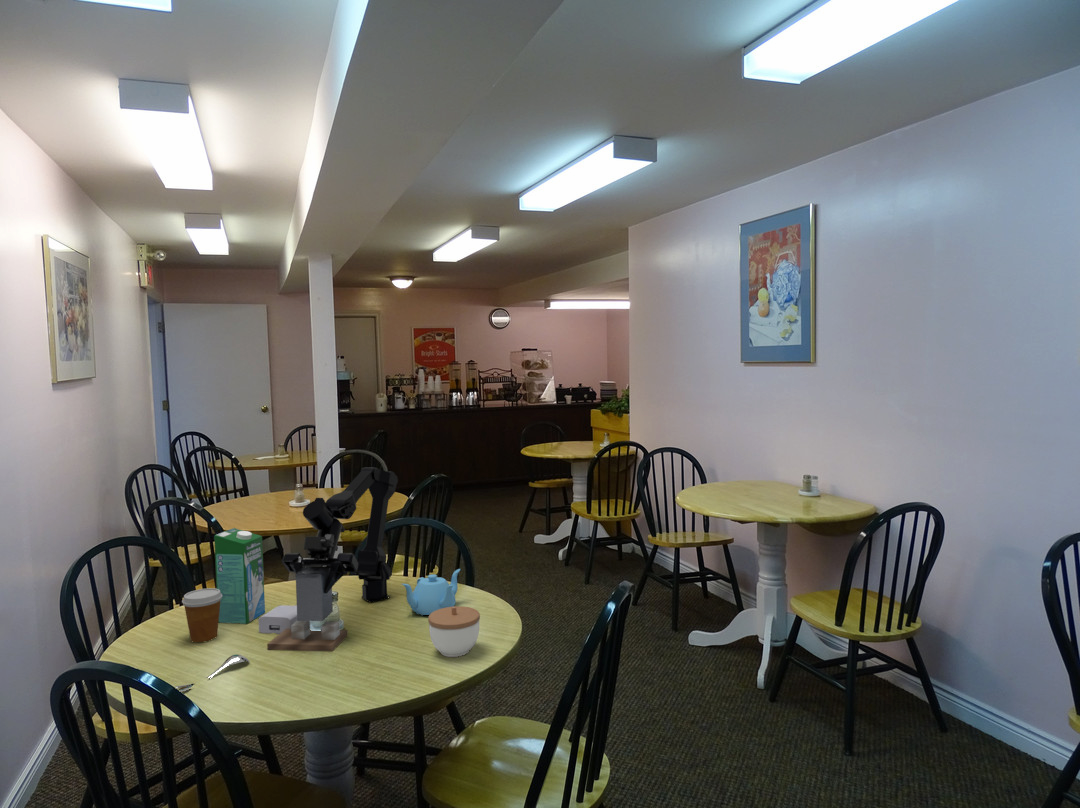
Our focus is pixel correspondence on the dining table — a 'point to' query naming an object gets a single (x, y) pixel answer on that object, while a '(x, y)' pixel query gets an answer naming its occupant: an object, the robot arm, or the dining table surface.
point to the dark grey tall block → (313, 594)
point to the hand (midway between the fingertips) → (312, 592)
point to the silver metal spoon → (220, 668)
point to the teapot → (432, 594)
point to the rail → (309, 637)
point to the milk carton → (239, 575)
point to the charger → (278, 619)
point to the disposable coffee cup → (202, 613)
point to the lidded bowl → (454, 630)
